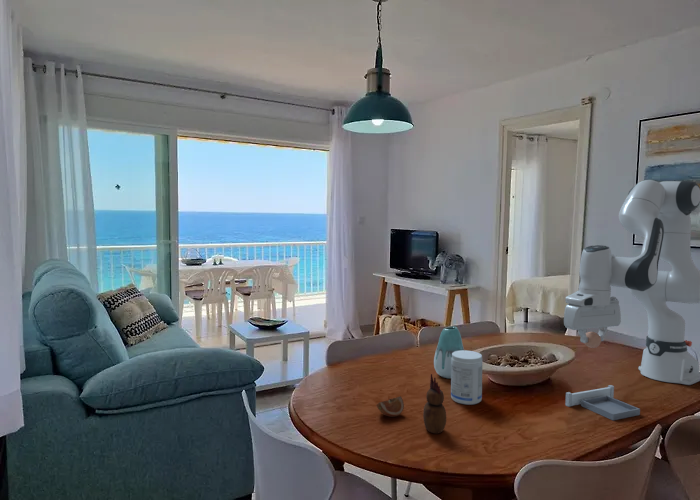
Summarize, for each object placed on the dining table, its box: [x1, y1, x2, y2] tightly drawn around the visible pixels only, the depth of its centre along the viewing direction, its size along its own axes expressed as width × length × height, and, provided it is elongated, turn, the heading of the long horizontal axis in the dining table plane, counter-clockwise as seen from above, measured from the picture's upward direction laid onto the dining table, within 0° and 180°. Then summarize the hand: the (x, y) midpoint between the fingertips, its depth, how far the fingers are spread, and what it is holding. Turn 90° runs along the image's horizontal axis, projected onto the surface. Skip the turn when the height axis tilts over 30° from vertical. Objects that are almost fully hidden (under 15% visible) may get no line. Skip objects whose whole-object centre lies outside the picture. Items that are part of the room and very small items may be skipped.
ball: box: [583, 331, 602, 349], centre depth 144 cm, size 5×5×5 cm
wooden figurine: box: [422, 373, 447, 434], centre depth 124 cm, size 7×6×15 cm
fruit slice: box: [376, 395, 405, 418], centre depth 134 cm, size 8×7×5 cm
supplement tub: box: [450, 349, 483, 406], centre depth 146 cm, size 10×10×15 cm
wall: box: [565, 384, 615, 407], centre depth 145 cm, size 19×1×4 cm, turn 112°
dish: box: [580, 396, 641, 421], centre depth 139 cm, size 11×11×2 cm
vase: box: [433, 326, 465, 380], centre depth 168 cm, size 12×12×18 cm
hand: (591, 341), depth 144 cm, fingers closed on ball, 5 cm apart
